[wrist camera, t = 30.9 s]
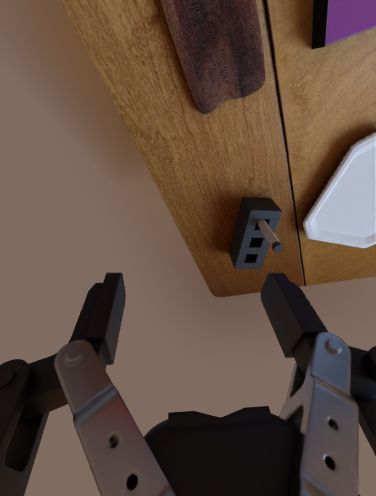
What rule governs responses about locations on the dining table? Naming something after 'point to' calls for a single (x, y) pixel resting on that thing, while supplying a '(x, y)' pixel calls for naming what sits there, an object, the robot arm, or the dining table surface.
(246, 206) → the pen block
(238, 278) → the dining table surface
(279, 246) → the stylus
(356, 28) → the book
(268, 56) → the dining table surface
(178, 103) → the dining table surface
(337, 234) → the plate
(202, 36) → the wooden tablet
